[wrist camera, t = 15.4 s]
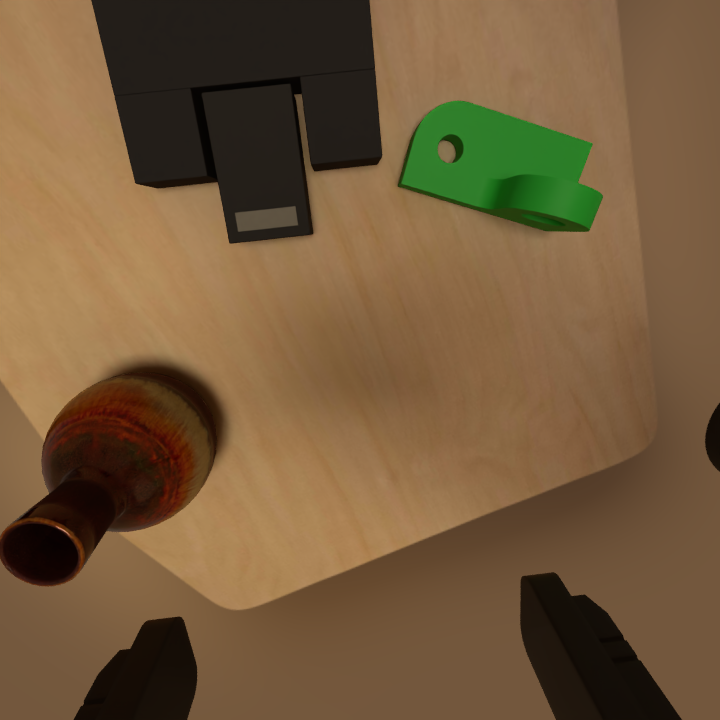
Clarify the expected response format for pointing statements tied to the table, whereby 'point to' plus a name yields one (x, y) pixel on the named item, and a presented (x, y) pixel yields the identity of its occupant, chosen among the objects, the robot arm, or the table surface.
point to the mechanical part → (502, 168)
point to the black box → (259, 162)
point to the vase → (111, 472)
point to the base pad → (237, 76)
